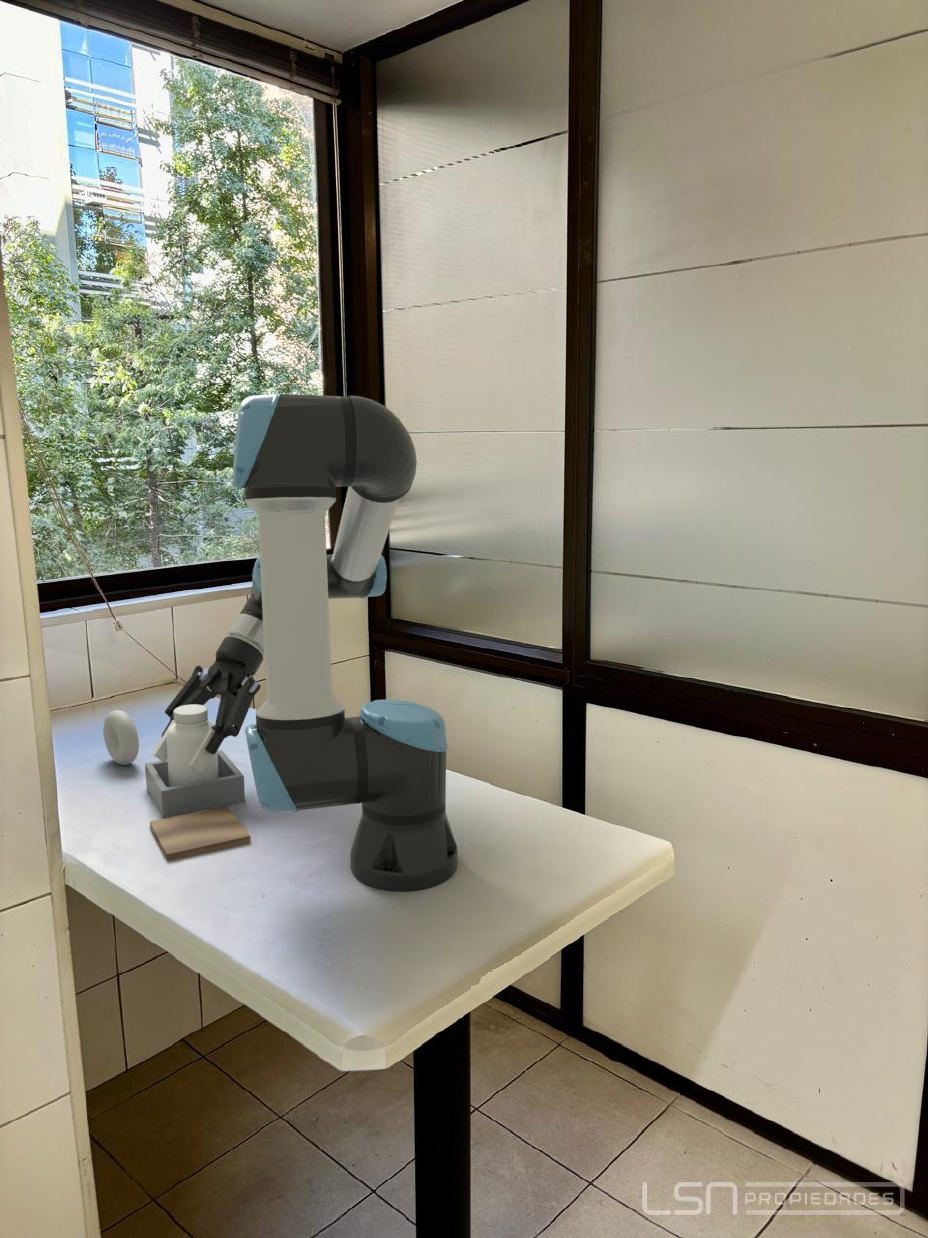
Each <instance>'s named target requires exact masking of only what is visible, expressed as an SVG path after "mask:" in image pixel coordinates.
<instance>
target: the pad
mask: <svg viewBox="0 0 928 1238" xmlns="http://www.w3.org/2000/svg"><path fill="white" fill-rule="evenodd" d="M149 828H150V831H151V832H152V834H153V836H154V838H155V839H156V842H157V845H158V846H159V848H160V849H161V852H162V853H163V856H164V857H165V859H166V860H167V862H168V861H174V860H176V859H182V858H187V857H191V856H194V855H199V854H204V853H209V852H213V851H217V850H221V849H225V848H230V847H235V846H239V845H244V844H248V843H251V835H250V834H249V832H248V831H247V830H246V828H245V827H244V825H243V824H242V823H241V822H240V820H239V819H238V818H237V817H236V814H234V812H233V811H232V809H231V808H230V807H229V805H226V806H221V807H216V808H211V809H206V810H201V811H196V812H191V813H186V814H181V815H176V816H171V817H166V818H162V819H161V818H160V819H156V820H151V821H149Z"/></svg>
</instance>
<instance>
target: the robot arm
mask: <svg viewBox="0 0 928 1238" xmlns="http://www.w3.org/2000/svg"><path fill="white" fill-rule="evenodd" d="M235 430H236V431H235V439H234V450H233V468H232V469H233V471H232V485H233V487H234V488H236V489H239V490H242V489H244V501H245V502H244V503H245V504H246V505H247V506H248V507H250V509H251V510H252V511H254V512H255V514H256V515H257V522H258V523H257V524H258V525H257V526H258V527H257V528H258V547H259V554H258V556H257V559H256V561H255V562H254V566H253V568H252V571H251V572H252V573H251V574H252V584H251V591H250V592H251V593H250V595H249V596H248V598H247V601H246V602H245V604H244V606H243V608H242V610H241V611H240V612H239V614H238V615H237V617H236V618H235V620H234V621H233V623H232V625H231V626H230V627H229V630H228V631H227V636H226V637H224V639H222V642H221V643H220V645H219V647H218V648H217V650H216V652H215V662H213V664H211V666H209V667H208V668H203V667H202V666H201V665H196V666H195V668H194V669H193V672H192V674H191V675H190V677H189V679H188V680H187V682H186V683H184V685H183V686H182V688H181V689H180V691H179V692H178V693H177V694H176V696H175V697H174V698H173V700H172V701H171V702H170V703H169V705H168V706H167V707H166V709H165V710H164V714H166V716H168V717H169V719H170V720H169V722H168V723H167V725H166V727H165V728H164V730H163V731H162V733H161V738H160V740H159V742H158V743H157V745H156V747H155V749H154V750H153V752H152V753H151V755H152V756H153V757H155V758H157V759H158V761H162V762H166V760H168V757H167V738H166V734H167V731H168V729H169V728H170V726H172V725H173V724H175V723H174V710H175V709H176V708H177V707H180V706H184V705H192V704H196V705H203V706H205V704H206V703H208V701H209V700H211V699H212V700H213V699H215V698H216V697H217V696H219V695H220V700H219V705H218V710H217V715H216V719H215V724H214V726H213V727H212V729H213V730H214V731H215V732H214V731H212V730H209V731H208V732H207V734H206V736H205V737H204V739H203V741H202V743H201V744H200V746H199V748H198V749H197V751H196V753H195V755H194V756H193V758H192V760H191V762H190V763H189V765H188V766H190V767H191V768H193V769H194V770H195V771H197V772H198V773H201V774H202V772H203V770H204V769H205V767H206V765H207V763H208V762H209V760H210V758H211V756H212V755H213V754H215V753H216V752H217V750H218V751H219V749H220V747H221V745H222V743H223V742H224V740H225V739H226V738H228V737H233V738H236V737H238V735H239V734H240V731H241V729H242V726H243V724H244V721H245V719H246V716H247V714H248V712H249V709H250V707H251V705H252V702H253V700H254V698H255V696H256V694H257V693H258V692H259V690H260V689H261V685H260V683H259V682H257V680H255V678H253V676H255V675H256V674H257V672H258V669H260V667H261V665H262V663H263V661H264V666H265V667H264V669H265V671H264V672H265V686H266V687H265V688H266V692H265V693H266V698H265V700H264V701H263V702H262V703H261V704H260V706H259V707H258V708H256V710H255V724H254V723H251V724H250V725H247V726H245V729H244V732H245V733H244V734H245V737H246V743H247V749H248V755H249V761H250V764H251V765H250V766H251V771H252V775H253V780H254V784H255V790H256V795H257V800H258V803H259V805H260V806H261V808H262V809H264V810H265V811H267V812H271V813H279V812H280V813H282V812H294V813H298V812H299V811H305V810H314V809H322V808H329V807H330V808H331V807H340V806H341V807H342V806H351V805H356V804H362V805H361V808H362V809H361V813H362V814H361V817H360V820H359V823H358V827H357V828H356V829H357V830H356V832H355V834H354V835H355V836H354V839H353V842H352V844H351V848H350V854H349V855H350V857H349V858H350V859H349V860H350V862H349V863H350V864H349V865H350V870H351V873H352V874H353V875H354V877H355V878H357V880H359V881H360V882H361V883H364V884H366V885H368V886H371V887H374V888H376V889H377V888H378V889H381V890H387V891H402V892H403V891H412V890H413V891H417V890H422V889H427V888H430V887H433V886H437V885H439V884H442V883H444V882H445V881H446V880H448V879H449V878H451V876H453V875H454V873H455V872H456V871H457V869H458V866H459V865H458V858H459V855H458V854H459V852H458V851H459V850H458V845H457V842H456V839H455V836H454V834H453V830H452V827H451V825H450V822H449V819H448V815H447V811H446V810H447V808H446V803H447V801H446V798H447V797H446V796H447V795H446V794H447V751H448V748H449V747H448V742H447V732H446V731H447V729H446V728H447V727H446V723H445V720H444V717H442V715H441V714H440V713H439V712H437V711H436V710H434V709H433V708H431V707H428V706H427V705H424V704H420V703H417V702H412V701H408V700H400V699H376V700H373V701H368V702H366V703H364V704H363V705H362V706H361V709H360V710H359V713H358V715H359V716H354V717H353V716H352V717H350V716H349V717H346V716H345V715H346V714H345V704H343V702H341V701H340V700H339V699H338V698H337V697H335V695H334V694H333V683H332V679H333V678H332V658H331V631H330V630H331V629H330V628H331V627H330V605H329V600H331V599H332V600H333V599H335V600H336V599H365V598H369V597H379V596H382V595H383V594H384V593H385V591H386V588H387V579H388V578H387V577H388V575H387V574H388V573H387V565H386V560H385V557H384V556H383V555H382V553H383V551H384V547H385V544H386V542H387V541H386V540H387V538H388V534H389V532H390V531H389V530H390V528H391V526H392V522H393V519H394V517H395V513H396V511H397V507H398V504H399V501H400V500H402V499H403V498H404V497H406V495H407V494H408V493H409V492H410V490H411V488H412V485H413V482H414V481H415V480H414V479H415V477H416V473H417V472H416V471H417V465H418V464H417V452H416V448H415V445H414V442H413V440H412V437H411V435H410V432H409V431H408V430H407V428H406V427H405V425H404V424H403V422H402V421H401V420H400V418H399V417H397V415H396V414H395V413H394V412H392V410H390V409H389V408H387V407H386V406H385V405H383V404H381V403H380V402H378V401H375V400H373V399H370V398H369V397H368V398H366V397H364V396H359V395H347V396H338V395H318V394H317V395H316V394H311V395H310V394H286V393H275V394H264V395H263V394H262V395H261V394H260V395H250V396H247V397H246V398H244V399H243V400H242V401H241V403H240V405H239V409H238V413H237V422H236V429H235ZM337 487H338V488H339V487H340V488H341V487H347V491H346V497H345V500H344V501H345V502H344V505H343V509H342V514H341V519H340V521H339V522H340V523H339V526H338V532H337V536H336V540H335V544H334V549H333V553H332V554H327V538H326V535H327V533H326V532H327V531H326V514H327V512H328V511H329V509H330V508H331V507H332V506H333V505H334V504H335V503H336V501H337Z"/></svg>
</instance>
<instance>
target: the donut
mask: <svg viewBox="0 0 928 1238" xmlns="http://www.w3.org/2000/svg"><path fill="white" fill-rule="evenodd" d="M102 729H103V738H104V740H103V741H104V743H105V748H106V750H107V752H108V754H109V756H110V757H111V759H112V760H113V762H115V763H116V764H119V765H122V766H128V765H130V764H132V763H133V762H134V761H135V760H136V759H137V757H138V754H139V750H140V740H139V735H138V733H139V732H138V730H137V727H136V725H135V722H134V720H133V719H132V718H131V715H129V714H128V713H127V712H125V711H124V710H120V709H115V710H112V711H110V712H109V713H107V715H106V717H105V719H104V720H103V728H102Z"/></svg>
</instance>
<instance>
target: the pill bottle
mask: <svg viewBox="0 0 928 1238" xmlns="http://www.w3.org/2000/svg"><path fill="white" fill-rule="evenodd" d="M208 717H209V712H208V708H207V707H206V705H196V704H192V705H184V706H180V707H177V708H176V709H175V710H174V723H175V724H173V725H172V726H170V728H169V729H168V731H167V734H166V738H167V757H168V759H167V760H168V776H169V787H173V786H179V785H184V784H189V783H195V782H200V781H206V780H211V779H216V778H219V773H218V751H219V749H218V750H217V752H216V753H215V754H213V755H212V756H211V758H210V760H209V762H208V763H207V765H206V767H205V769H204V770H203V772H202V774H201V773H198V772H197V771H195V770H194V769H193V768H191V767H190V766H188V765H189V763H190V762H191V760H192V758H193V756H194V755H195V753H196V751H197V749H198V748H199V746H200V744H201V743H202V741H203V739H204V737H205V736H206V734H207V732H208V731H209V730H212V731H214V730H213V729H212V727H213V726H215V724H213V723H212V722H211V721H209V718H208ZM214 732H215V731H214Z"/></svg>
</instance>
